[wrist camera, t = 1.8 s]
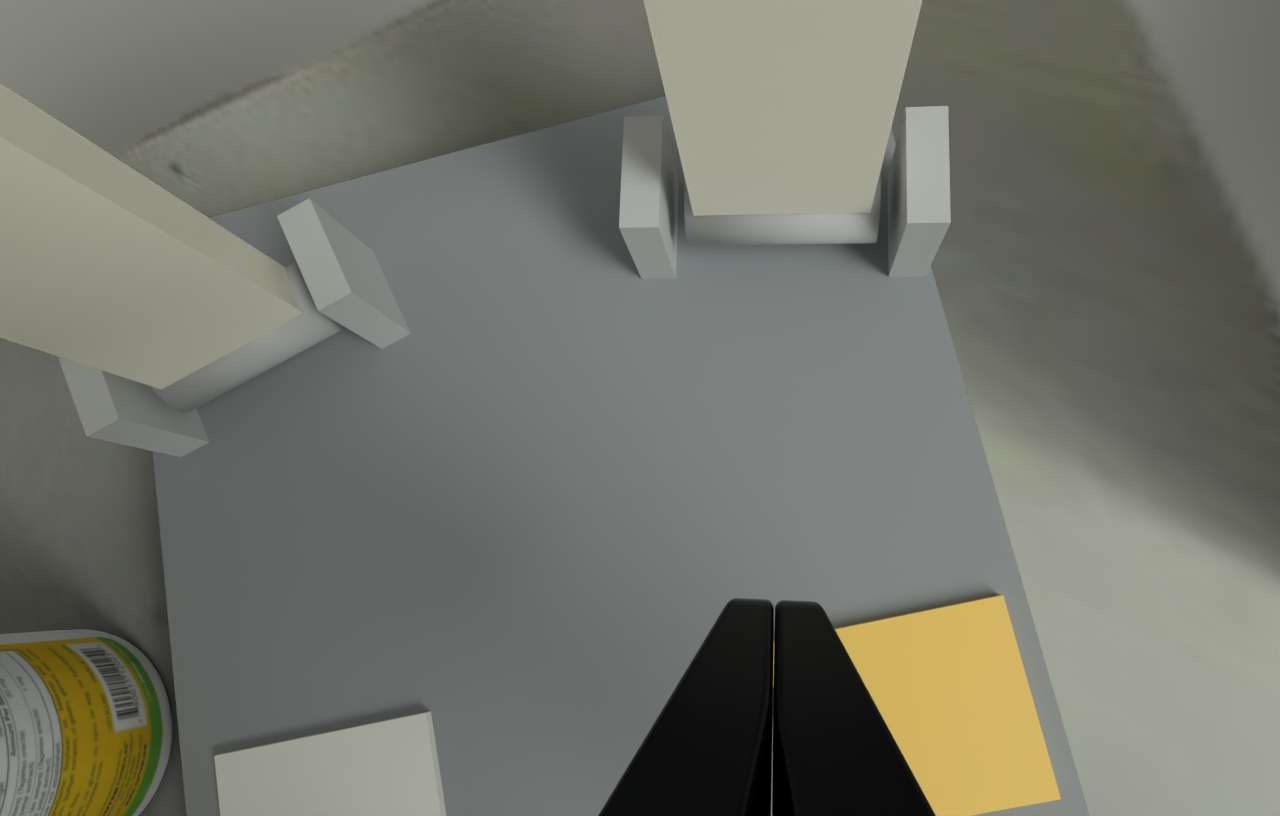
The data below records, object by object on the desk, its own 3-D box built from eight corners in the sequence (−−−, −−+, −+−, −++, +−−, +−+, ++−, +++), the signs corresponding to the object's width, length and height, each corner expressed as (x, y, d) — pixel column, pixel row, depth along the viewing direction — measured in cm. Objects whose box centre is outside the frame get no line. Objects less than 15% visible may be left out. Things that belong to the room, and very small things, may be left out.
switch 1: (351, 340, 22) (-174, 36, 10) (204, 418, 22) (-490, 216, 10) (323, 275, 22) (-215, -91, 10) (179, 354, 23) (-518, 84, 10)
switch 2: (872, 255, 21) (1005, -219, 8) (690, 257, 21) (572, -183, 9) (871, 178, 21) (1001, -384, 9) (693, 182, 22) (582, -339, 9)
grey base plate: (1086, 816, 20) (1187, 892, 15) (254, 965, 22) (99, 1076, 17) (875, 81, 24) (900, -52, 19) (180, 264, 26) (36, 186, 21)
